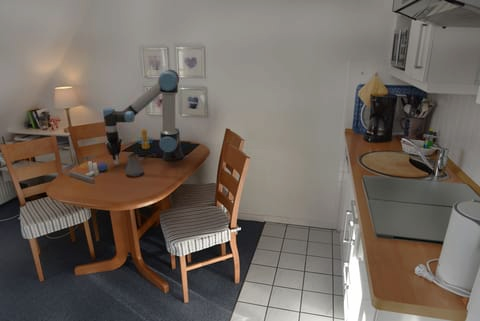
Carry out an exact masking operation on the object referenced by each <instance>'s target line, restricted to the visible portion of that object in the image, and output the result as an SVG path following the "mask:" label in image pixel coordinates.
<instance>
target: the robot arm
mask: <svg viewBox="0 0 480 321" xmlns="http://www.w3.org/2000/svg"><path fill="white" fill-rule="evenodd" d="M179 82H180V76H179V73H178V72H177V71H175V70H173V69H167V70H166V71H165V70H164V71H163V72H161V73H160V74H159V77H158V79H157V82H156V83H155V84H153V85H152V86H151V87H150V88H149V89H148V90H146V91H144V92H143V94H142V95H141V96H139V97H138V98H137V99H136V100H134V101H133V102H132V103H131V104H130V105H129V106H128V107H126V108H125V109H124V110H122V111H118V110H117V111H116V109H115V108H113V107H109V108H108V107H107V108H104V109H103V111H102V113H103V114H102V115H103V120H104V128H105V132H106V133H105V134H106V138H107V139H106V142H104V146H106V149H107V152H108V154H109V156H112V160H113V162H114V165H119V163H120V162H119V155H120V154H121V153H122V152H121V150H122V149H121V148H122V142H123V141H122V139H121V138H119V132H118V123H134V122H135V117H136V115H138V114H139V113H140V112H141V111H142V110H144V109H145V108H146V107H148V106H149V105H150V104H151V103H152V102H153V101H155V100H156V99H157V98H158V97H159V96H162V97H161V100H162V101H161V102H162V105H161V106H162V107H161V109H162V110H161V111H162V112H161V113H162V129H161V131H159V133H160V137H159V138H160V140H159V142H158V143H159V148H160V149H161V150H162V151H163V155H162V159H163V161H165V162H179V161H182V160H183V159H184V158H185V157H184V153H183V150H182V148H181V138H180V137H181V135H180V133H181V132H180V128H178V127H176V95H177V94H178V92H179V91H178V90H179V89H178V88H179V86H178V85H179Z"/></svg>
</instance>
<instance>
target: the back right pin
mask: <svg viewBox="0 0 480 321" xmlns="http://www.w3.org/2000/svg"><path fill="white" fill-rule="evenodd" d="M92 163H93V162H92V160H91V161H87V166H88V171H89V172H88V173H90V172H93V171H94V170H93V164H92Z"/></svg>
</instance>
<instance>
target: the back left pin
mask: <svg viewBox="0 0 480 321" xmlns="http://www.w3.org/2000/svg"><path fill="white" fill-rule="evenodd" d="M92 167H93V171H94V175H93V176H94V177H98V176H99V173H98V171H99V169H98V164H97V162H92Z"/></svg>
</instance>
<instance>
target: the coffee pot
mask: <svg viewBox="0 0 480 321" xmlns="http://www.w3.org/2000/svg"><path fill="white" fill-rule="evenodd" d="M153 156H154V157H155V158H156V157H157V154H156V153H151V154H149V155H147V156H144V157H143V158H140V159H138V157H139V155H138V154H130V155H128V156H127V158H128V163H127V166H126V169H125V173H126V174H127V175H128V176H130V177H139V176H141V175H142V174H143V173H144V171H145V169H144V167H143V166H142V164H141V162H140V161H143V160H146V159H148V158H151V157H153Z"/></svg>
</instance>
